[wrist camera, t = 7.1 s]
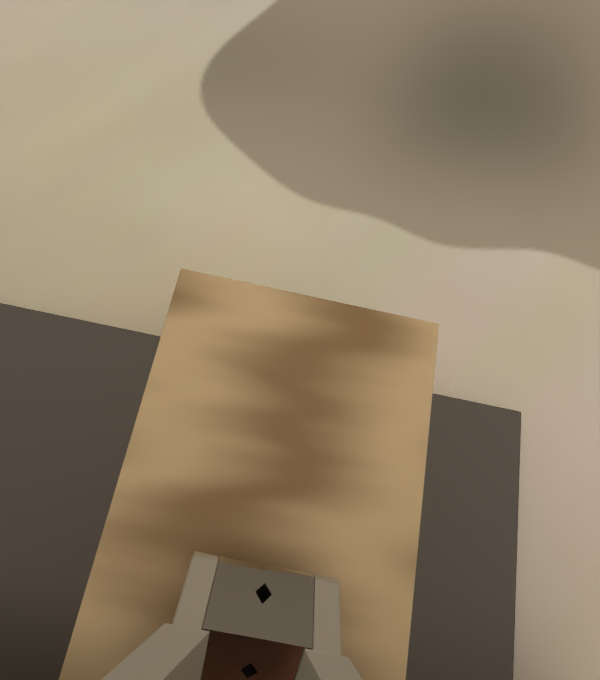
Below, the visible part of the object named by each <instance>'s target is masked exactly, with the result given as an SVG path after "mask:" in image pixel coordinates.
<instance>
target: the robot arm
mask: <svg viewBox="0 0 600 680" xmlns="http://www.w3.org/2000/svg"><path fill="white" fill-rule="evenodd" d="M101 680H363V679H362V677H361V676H360V674H359V672H358V671H357V669H356V667H355V666H354V664H353V663H352V661H351V659H350V658H349V657H347V656H343V655H342V648H341V615H340V583H339V581H338V578H333V577H327V576H322V575H317V574H314V575H313V573H308V572H302V571H296V570H291V569H285V568H279V567H274V566H268V565H266V566H264V565H259V564H255V563H250V562H246V561H241V560H236V559H232V558H227V557H223V556H220V558H219V556H217V555H212V554H207V553H202V552H197V551H195V553H194V555H193V557H192V559H191V563H190V566H189V569H188V573H187V576H186V579H185V583H184V586H183V589H182V593H181V596H180V600H179V603H178V606H177V610H176V613H175V616H174V620H173V623H172V624H168V623H164V624H163V625H162V626H161V627H160V628H158V629H157V630H156V631H155V632H154V633H153V634H152V635H151V636H149V637H148V638H147V639H146V640H145V641H144V642H143V643H142V644H140V645H139V646H138V647H137V648H136V649H135V650H134V651H133V652H131V653H130V654H129V655H128V656H127V657H126V658H125V659H124V660H122V661H121V662H120V663H119V664H118V665H117V666H116V667H114V668H113V669H112V670H111V671H110V672H109V673H108V674H107V675H105V676H104V677H103V678H102V679H101Z"/></svg>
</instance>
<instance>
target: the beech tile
mask: <svg viewBox="0 0 600 680" xmlns="http://www.w3.org/2000/svg"><path fill="white" fill-rule="evenodd" d="M438 329H439V324H436V323H432V322H427V321H422V320H418V319H413V318H408V317H404V316H399V315H394V314H390V313H385V312H381V311H376V310H371V309H367V308H362V307H357V306H353V305H348V304H343V303H339V302H334V301H329V300H325V299H320V298H315V297H311V296H306V295H301V294H297V293H292V292H287V291H283V290H278V289H273V288H269V287H264V286H259V285H255V284H250V283H246V282H241V281H236V280H232V279H227V278H222V277H218V276H213V275H208V274H204V273H199V272H194V271H190V270H185V269H181V270H180V274H179V277H178V280H177V284H176V287H175V291H174V294H173V297H172V301H171V304H170V307H169V311H168V314H167V317H166V321H165V324H164V328H163V331H162V334H161V338H160V341H159V344H158V348H157V351H156V354H155V358H154V361H153V364H152V368H151V371H150V375H149V378H148V381H147V385H146V388H145V391H144V395H143V398H142V401H141V405H140V408H139V412H138V415H137V418H136V422H135V425H134V428H133V432H132V435H131V438H130V442H129V445H128V448H127V452H126V455H125V459H124V462H123V465H122V469H121V472H120V475H119V479H118V482H117V485H116V489H115V492H114V496H113V499H112V502H111V506H110V509H109V512H108V516H107V519H106V522H105V526H104V529H103V532H102V536H101V539H100V543H99V546H98V549H97V553H96V556H95V559H94V563H93V566H92V569H91V573H90V576H89V579H88V583H87V586H86V590H85V593H84V596H83V600H82V603H81V606H80V610H79V613H78V616H77V620H76V623H75V627H74V630H73V633H72V637H71V640H70V643H69V647H68V650H67V653H66V657H65V660H64V663H63V667H62V670H61V674H60V677H59V680H101V679H102V678H103V677H104V676H105V675H107V674H108V673H109V672H110V671H111V670H112V669H113V668H114V667H116V666H117V665H118V664H119V663H120V662H121V661H122V660H124V659H125V658H126V657H127V656H128V655H129V654H130V653H131V652H133V651H134V650H135V649H136V648H137V647H138V646H139V645H140V644H142V643H143V642H144V641H145V640H146V639H147V638H148V637H149V636H151V635H152V634H153V633H154V632H155V631H156V630H157V629H158V628H160V627H161V626H162V625H163V624H164V623H168V624H172V623H173V620H174V616H175V613H176V610H177V606H178V603H179V600H180V596H181V593H182V589H183V586H184V583H185V579H186V576H187V573H188V569H189V566H190V563H191V559H192V557H193V555H194V553H195V551H197V552H202V553H207V554H212V555H217V556H219V558H220V556H223V557H227V558H232V559H236V560H241V561H246V562H250V563H255V564H259V565H264V566H266V565H268V566H274V567H279V568H285V569H291V570H296V571H302V572H308V573H313V575H314V574H317V575H322V576H327V577H333V578H338V581H339V583H340V615H341V648H342V655H343V656H347V657H349V658H350V659H351V661H352V663H353V664H354V666H355V667H356V669H357V671H358V672H359V674H360V676H361V677H362V679H363V680H406V669H407V658H408V648H409V637H410V627H411V616H412V605H413V595H414V584H415V573H416V563H417V552H418V542H419V531H420V520H421V510H422V499H423V488H424V478H425V467H426V457H427V446H428V435H429V425H430V414H431V403H432V393H433V382H434V372H435V361H436V350H437V340H438Z"/></svg>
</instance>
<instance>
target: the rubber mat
mask: <svg viewBox="0 0 600 680" xmlns="http://www.w3.org/2000/svg"><path fill="white" fill-rule="evenodd" d="M160 338H161V337H160V336H155V335H150V334H145V333H141V332H136V331H131V330H126V329H121V328H117V327H112V326H107V325H102V324H97V323H93V322H88V321H83V320H78V319H74V318H69V317H64V316H59V315H54V314H50V313H45V312H40V311H35V310H30V309H26V308H21V307H16V306H11V305H7V304H2V303H0V680H59V677H60V674H61V670H62V667H63V663H64V660H65V657H66V653H67V650H68V647H69V643H70V640H71V637H72V633H73V630H74V627H75V623H76V620H77V616H78V613H79V610H80V606H81V603H82V600H83V596H84V593H85V590H86V586H87V583H88V579H89V576H90V573H91V569H92V566H93V563H94V559H95V556H96V553H97V549H98V546H99V543H100V539H101V536H102V532H103V529H104V526H105V522H106V519H107V516H108V512H109V509H110V506H111V502H112V499H113V496H114V492H115V489H116V485H117V482H118V479H119V475H120V472H121V469H122V465H123V462H124V459H125V455H126V452H127V448H128V445H129V442H130V438H131V435H132V432H133V428H134V425H135V422H136V418H137V415H138V412H139V408H140V405H141V401H142V398H143V395H144V391H145V388H146V385H147V381H148V378H149V375H150V371H151V368H152V364H153V361H154V358H155V354H156V351H157V348H158V344H159V341H160ZM520 434H521V412H519V411H514V410H509V409H504V408H500V407H495V406H490V405H485V404H480V403H476V402H471V401H466V400H461V399H456V398H452V397H447V396H442V395H437V394H433V393H432V403H431V414H430V425H429V435H428V446H427V457H426V467H425V478H424V488H423V499H422V510H421V520H420V531H419V542H418V552H417V563H416V573H415V584H414V595H413V605H412V616H411V627H410V637H409V648H408V658H407V669H406V680H513V659H514V627H515V595H516V563H517V531H518V499H519V466H520Z"/></svg>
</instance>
